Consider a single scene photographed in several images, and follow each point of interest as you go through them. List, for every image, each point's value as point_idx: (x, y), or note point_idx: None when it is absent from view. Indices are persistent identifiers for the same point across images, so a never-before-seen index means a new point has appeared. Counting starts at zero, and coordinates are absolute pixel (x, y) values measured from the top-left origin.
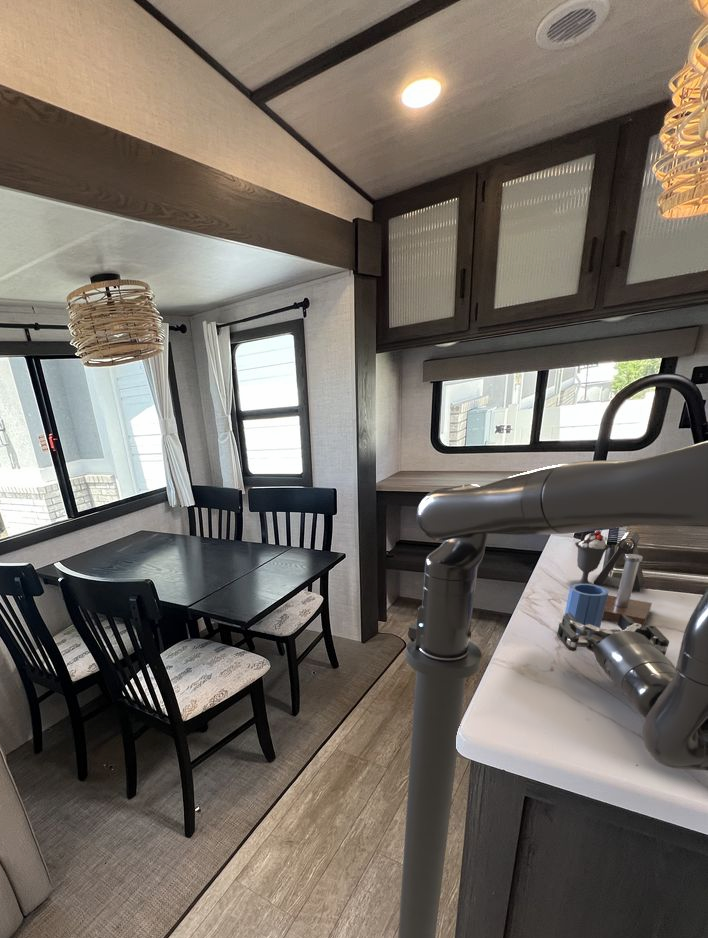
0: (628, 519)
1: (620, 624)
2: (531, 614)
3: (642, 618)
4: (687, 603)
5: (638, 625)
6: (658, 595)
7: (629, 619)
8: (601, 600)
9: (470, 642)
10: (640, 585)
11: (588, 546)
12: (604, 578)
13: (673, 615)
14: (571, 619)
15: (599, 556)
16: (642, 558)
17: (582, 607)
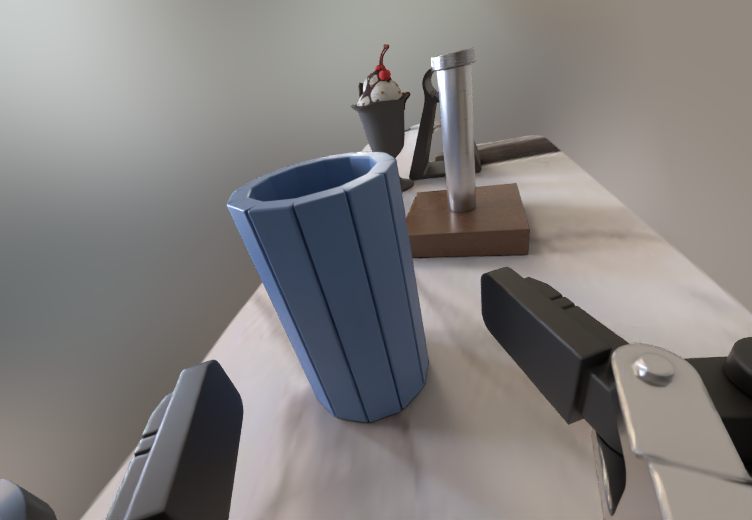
0: None
1: (499, 329)
2: (268, 297)
3: (523, 229)
4: (561, 169)
5: (675, 381)
6: (510, 169)
7: (551, 305)
8: (369, 218)
9: (17, 517)
10: (478, 160)
11: (371, 101)
12: (422, 164)
13: (561, 198)
14: (140, 479)
15: (397, 118)
16: (475, 51)
17: (297, 284)
